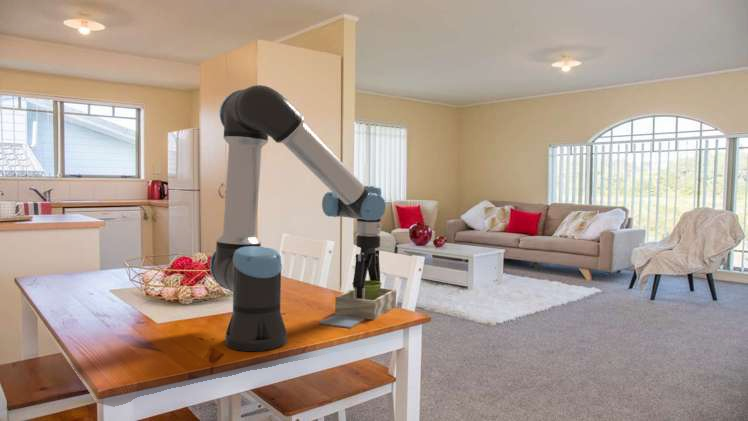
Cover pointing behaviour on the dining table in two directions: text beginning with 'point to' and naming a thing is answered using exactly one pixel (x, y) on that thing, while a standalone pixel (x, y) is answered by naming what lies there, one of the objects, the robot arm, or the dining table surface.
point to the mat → (342, 321)
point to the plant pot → (371, 289)
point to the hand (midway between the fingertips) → (366, 304)
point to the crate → (365, 304)
